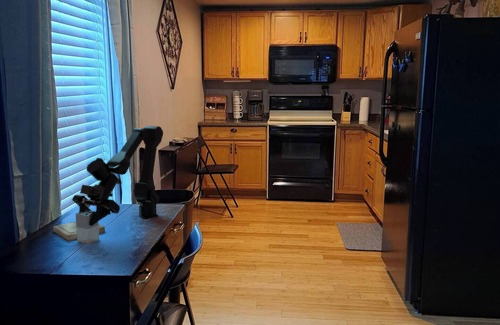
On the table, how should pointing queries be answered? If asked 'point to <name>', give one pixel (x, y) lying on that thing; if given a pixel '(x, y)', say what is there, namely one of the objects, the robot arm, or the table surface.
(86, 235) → the plate
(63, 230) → the stand
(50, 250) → the table surface
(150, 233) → the table surface
